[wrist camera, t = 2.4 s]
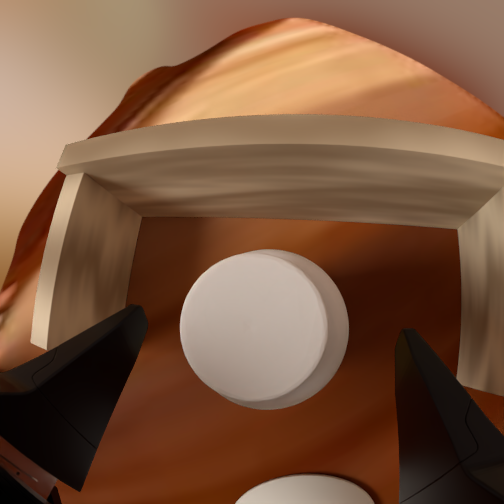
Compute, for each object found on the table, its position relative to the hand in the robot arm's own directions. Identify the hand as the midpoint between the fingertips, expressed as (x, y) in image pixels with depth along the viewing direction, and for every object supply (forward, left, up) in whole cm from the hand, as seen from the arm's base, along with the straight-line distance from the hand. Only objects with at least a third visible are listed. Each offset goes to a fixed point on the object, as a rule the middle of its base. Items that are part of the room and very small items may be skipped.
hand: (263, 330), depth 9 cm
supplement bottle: (0, 0, -8) cm, 8 cm away
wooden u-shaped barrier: (+3, -1, -8) cm, 8 cm away
